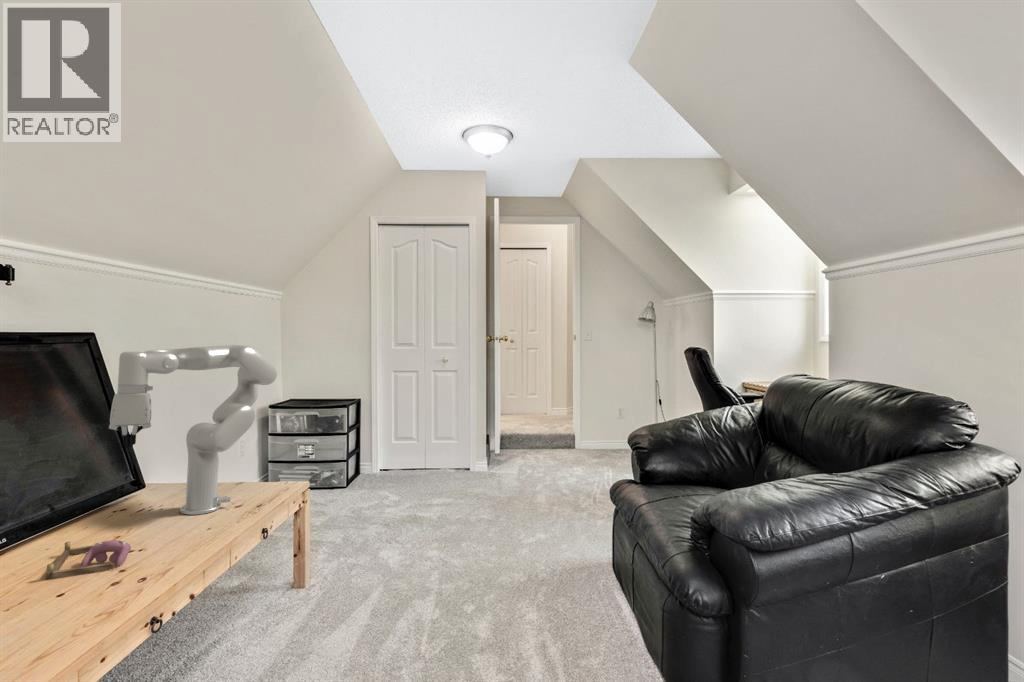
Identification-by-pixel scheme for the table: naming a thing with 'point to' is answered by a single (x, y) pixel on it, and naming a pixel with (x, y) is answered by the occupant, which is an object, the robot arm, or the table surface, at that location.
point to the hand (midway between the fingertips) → (129, 446)
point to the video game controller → (101, 548)
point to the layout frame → (56, 573)
